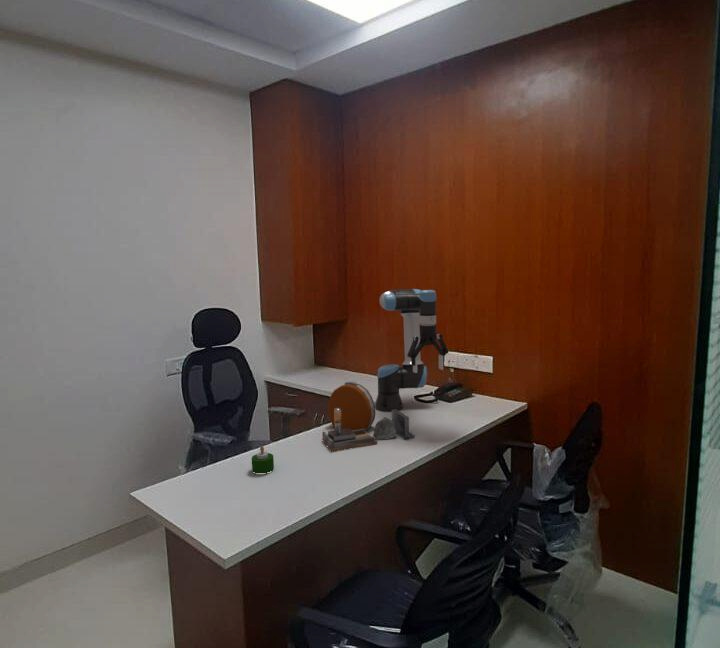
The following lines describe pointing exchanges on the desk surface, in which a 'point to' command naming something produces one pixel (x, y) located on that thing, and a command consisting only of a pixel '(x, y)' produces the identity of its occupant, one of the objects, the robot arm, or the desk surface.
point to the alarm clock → (352, 406)
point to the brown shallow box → (350, 441)
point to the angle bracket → (401, 424)
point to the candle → (262, 462)
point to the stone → (384, 429)
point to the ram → (340, 433)
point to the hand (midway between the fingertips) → (428, 370)
